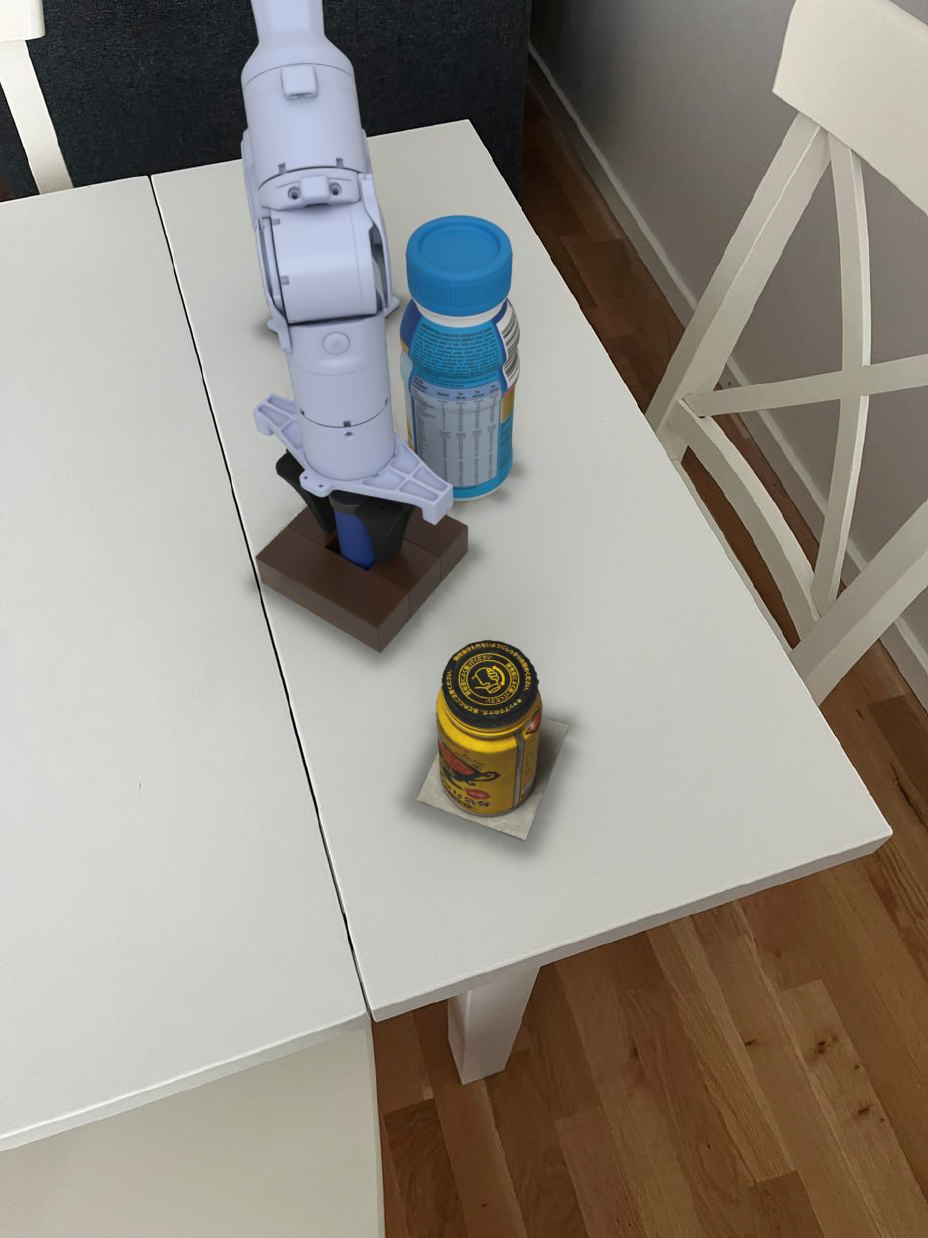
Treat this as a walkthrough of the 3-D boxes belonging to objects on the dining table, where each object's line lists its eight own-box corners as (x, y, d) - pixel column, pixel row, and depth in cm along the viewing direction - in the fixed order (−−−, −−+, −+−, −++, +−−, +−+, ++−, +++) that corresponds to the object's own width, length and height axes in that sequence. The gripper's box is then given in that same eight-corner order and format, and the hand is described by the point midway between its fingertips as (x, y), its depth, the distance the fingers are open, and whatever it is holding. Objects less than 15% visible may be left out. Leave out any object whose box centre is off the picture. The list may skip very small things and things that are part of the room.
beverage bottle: (443, 522, 75) (436, 304, 58) (387, 454, 79) (366, 231, 62) (534, 478, 77) (553, 256, 61) (476, 414, 81) (479, 189, 65)
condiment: (415, 801, 62) (406, 707, 52) (465, 692, 66) (465, 586, 56) (525, 842, 60) (536, 753, 50) (568, 727, 65) (587, 625, 55)
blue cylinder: (360, 543, 74) (348, 459, 66) (397, 564, 72) (389, 481, 65) (331, 573, 72) (316, 491, 65) (368, 595, 71) (357, 513, 63)
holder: (353, 489, 77) (349, 463, 74) (468, 551, 73) (468, 525, 71) (261, 582, 72) (254, 556, 69) (380, 653, 68) (377, 629, 66)
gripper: (205, 384, 59) (246, 529, 70) (401, 487, 54) (412, 625, 65) (282, 320, 62) (309, 469, 73) (472, 412, 58) (471, 555, 69)
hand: (362, 538), depth 70 cm, fingers open, 4 cm apart
